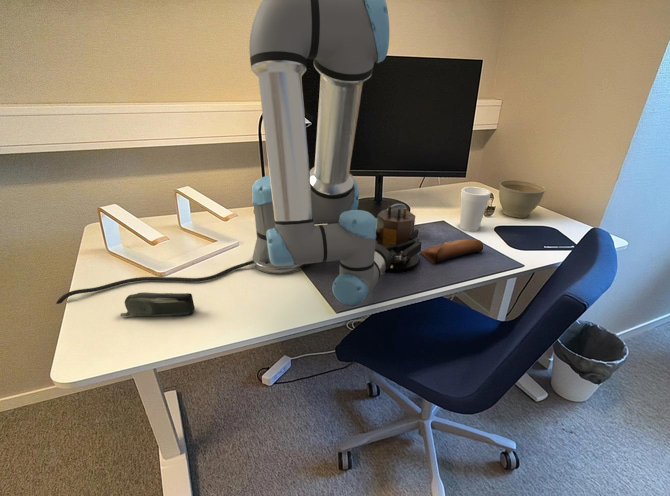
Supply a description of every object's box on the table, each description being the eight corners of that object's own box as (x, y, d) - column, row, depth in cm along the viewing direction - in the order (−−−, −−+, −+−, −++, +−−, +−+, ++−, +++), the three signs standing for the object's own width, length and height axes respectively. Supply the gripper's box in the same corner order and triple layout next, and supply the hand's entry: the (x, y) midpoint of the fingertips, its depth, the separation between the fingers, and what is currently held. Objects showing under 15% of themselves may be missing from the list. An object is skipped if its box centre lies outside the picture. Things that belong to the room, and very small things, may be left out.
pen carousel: (383, 245, 118) (386, 198, 110) (413, 251, 115) (419, 203, 108) (371, 259, 110) (374, 208, 103) (404, 265, 108) (409, 214, 100)
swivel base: (380, 277, 105) (380, 271, 105) (358, 253, 117) (359, 248, 116) (428, 268, 111) (429, 263, 110) (403, 246, 122) (403, 242, 121)
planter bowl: (538, 224, 143) (546, 194, 137) (492, 217, 147) (499, 188, 141) (536, 210, 156) (544, 182, 150) (494, 204, 160) (500, 177, 154)
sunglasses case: (463, 241, 126) (474, 228, 121) (475, 259, 124) (486, 246, 118) (418, 252, 118) (428, 238, 113) (429, 271, 116) (440, 258, 110)
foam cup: (488, 231, 136) (496, 194, 129) (465, 234, 133) (472, 196, 126) (472, 221, 143) (479, 185, 136) (450, 224, 140) (456, 187, 133)
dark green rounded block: (192, 290, 87) (118, 291, 85) (189, 297, 85) (113, 299, 82) (196, 309, 90) (124, 311, 87) (193, 316, 87) (119, 319, 85)
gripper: (330, 267, 101) (363, 236, 118) (414, 286, 94) (435, 250, 112) (330, 240, 97) (364, 212, 114) (417, 258, 90) (439, 225, 108)
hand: (399, 231), depth 113 cm, fingers closed on pen carousel, 9 cm apart
